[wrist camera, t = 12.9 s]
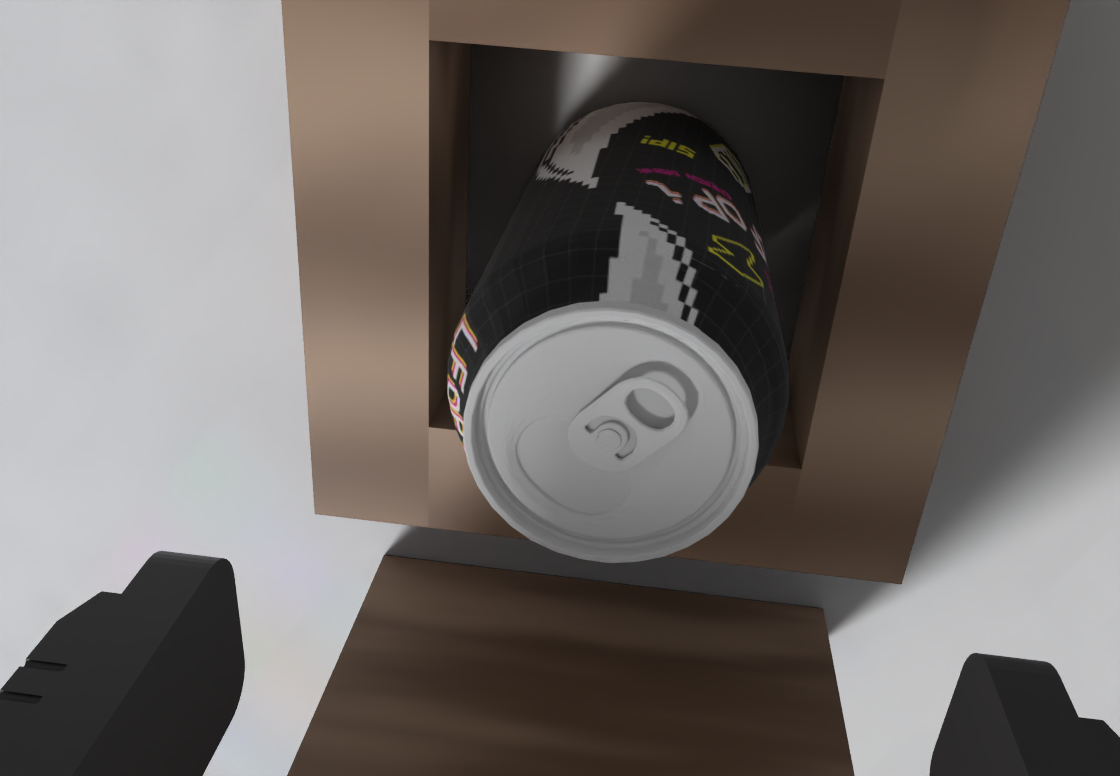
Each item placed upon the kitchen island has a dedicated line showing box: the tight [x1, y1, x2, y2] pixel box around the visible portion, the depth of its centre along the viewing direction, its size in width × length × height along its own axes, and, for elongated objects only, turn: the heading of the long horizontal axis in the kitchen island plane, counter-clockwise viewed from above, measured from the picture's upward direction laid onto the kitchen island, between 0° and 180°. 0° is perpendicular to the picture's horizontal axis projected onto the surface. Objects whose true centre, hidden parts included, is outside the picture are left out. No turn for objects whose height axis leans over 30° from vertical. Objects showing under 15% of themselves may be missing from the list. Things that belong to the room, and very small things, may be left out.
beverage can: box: [447, 102, 789, 563], centre depth 20 cm, size 6×6×12 cm
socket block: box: [281, 0, 1070, 584], centre depth 23 cm, size 15×15×4 cm
